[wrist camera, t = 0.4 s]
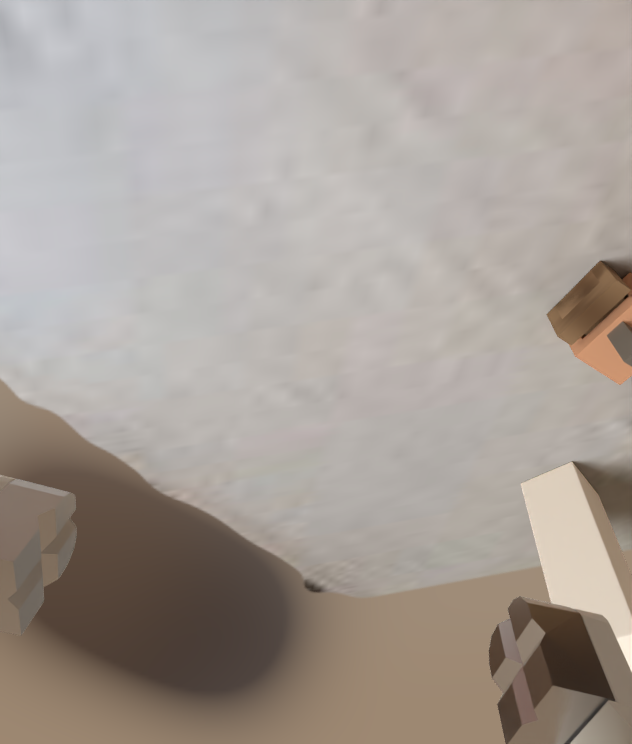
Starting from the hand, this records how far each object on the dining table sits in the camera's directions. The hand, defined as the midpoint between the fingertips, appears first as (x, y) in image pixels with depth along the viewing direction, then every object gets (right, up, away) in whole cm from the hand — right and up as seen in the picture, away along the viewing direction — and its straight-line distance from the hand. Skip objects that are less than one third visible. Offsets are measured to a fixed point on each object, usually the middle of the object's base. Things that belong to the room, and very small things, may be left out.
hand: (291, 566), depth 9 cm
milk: (+27, -9, +47) cm, 56 cm away
